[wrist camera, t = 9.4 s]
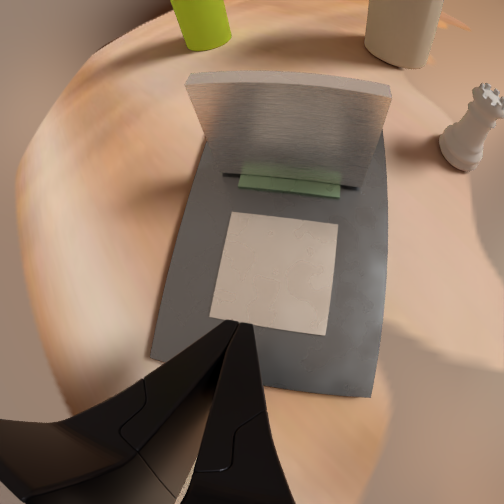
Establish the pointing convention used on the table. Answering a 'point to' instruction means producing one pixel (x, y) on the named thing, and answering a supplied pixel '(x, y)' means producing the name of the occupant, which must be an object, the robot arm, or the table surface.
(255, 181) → the base
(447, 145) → the rook chess piece
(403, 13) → the travel mug
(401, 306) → the table surface
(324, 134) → the grey bracket
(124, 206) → the table surface
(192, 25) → the soap dispenser
